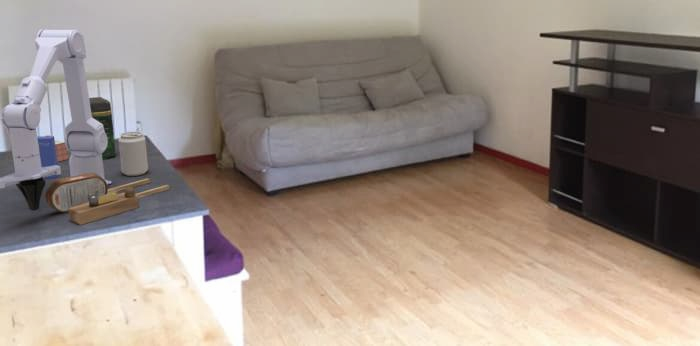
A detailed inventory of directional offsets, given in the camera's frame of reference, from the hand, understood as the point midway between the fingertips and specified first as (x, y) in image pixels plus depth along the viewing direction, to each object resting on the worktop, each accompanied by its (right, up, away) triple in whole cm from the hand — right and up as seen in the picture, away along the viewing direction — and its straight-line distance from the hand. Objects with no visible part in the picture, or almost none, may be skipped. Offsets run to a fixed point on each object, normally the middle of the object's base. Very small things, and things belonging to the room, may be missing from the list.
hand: (34, 209), depth 167 cm
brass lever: (+15, +1, +4) cm, 16 cm away
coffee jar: (-3, +14, +55) cm, 57 cm away
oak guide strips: (+18, +4, +21) cm, 28 cm away
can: (+13, +8, +37) cm, 40 cm away
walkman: (-13, +7, +34) cm, 37 cm away
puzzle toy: (-16, +13, +51) cm, 55 cm away
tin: (+7, 0, +9) cm, 12 cm away
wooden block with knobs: (+15, -1, +5) cm, 16 cm away
